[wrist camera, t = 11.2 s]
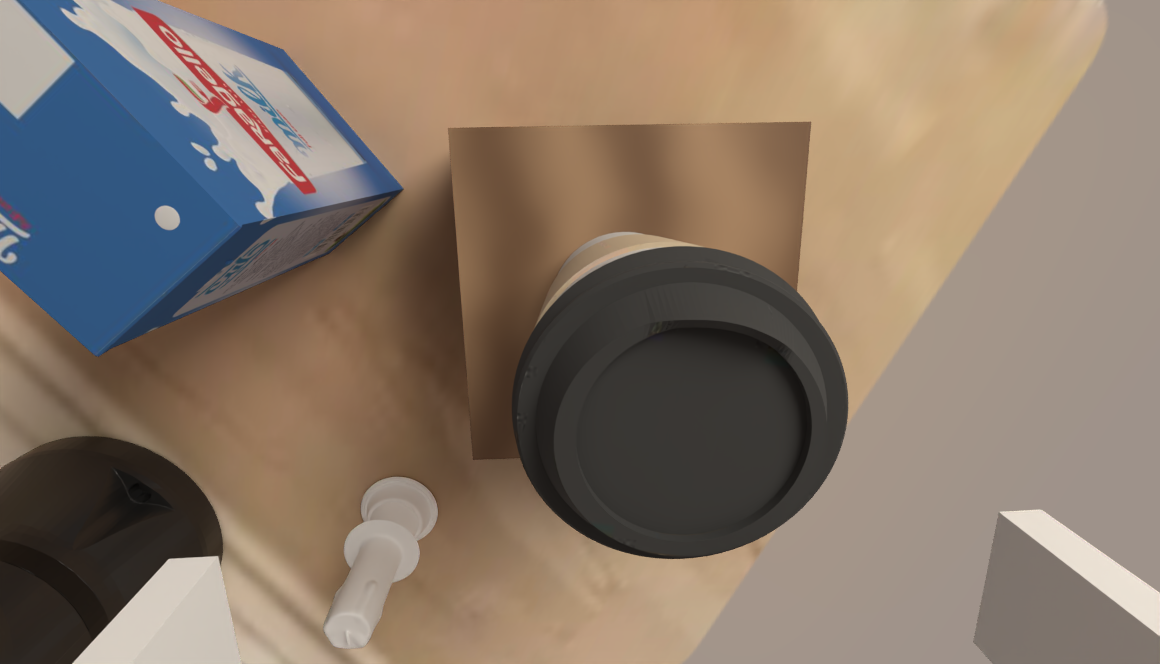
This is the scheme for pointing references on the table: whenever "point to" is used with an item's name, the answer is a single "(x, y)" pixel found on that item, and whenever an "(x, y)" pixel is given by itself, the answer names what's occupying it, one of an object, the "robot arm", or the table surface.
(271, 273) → the milk carton
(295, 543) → the table surface
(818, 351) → the coffee cup
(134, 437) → the table surface
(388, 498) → the candle
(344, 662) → the table surface
